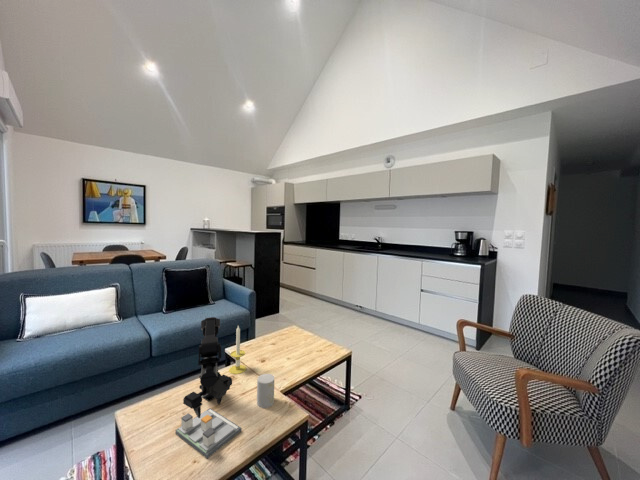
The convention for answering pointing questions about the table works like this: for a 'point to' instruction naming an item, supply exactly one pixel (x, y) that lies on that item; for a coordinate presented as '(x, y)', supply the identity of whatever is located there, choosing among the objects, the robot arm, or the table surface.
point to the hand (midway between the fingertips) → (209, 410)
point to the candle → (237, 356)
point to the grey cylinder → (265, 390)
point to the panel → (219, 424)
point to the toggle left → (186, 421)
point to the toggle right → (208, 437)
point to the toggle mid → (206, 422)
